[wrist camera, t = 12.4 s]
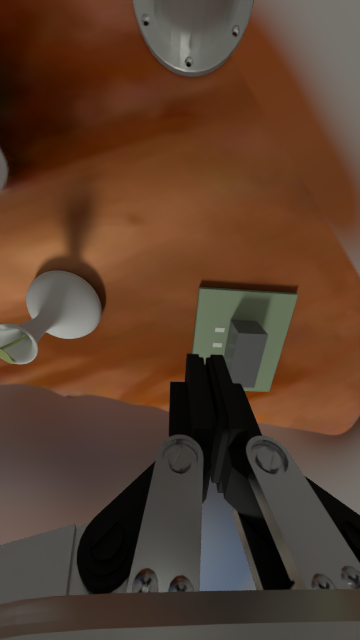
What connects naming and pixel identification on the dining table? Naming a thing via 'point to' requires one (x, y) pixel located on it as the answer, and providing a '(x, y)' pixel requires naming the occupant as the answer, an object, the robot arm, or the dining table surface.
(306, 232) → the dining table surface
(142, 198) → the dining table surface
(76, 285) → the flower in vase
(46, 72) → the dining table surface
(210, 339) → the board
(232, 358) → the plug housing
